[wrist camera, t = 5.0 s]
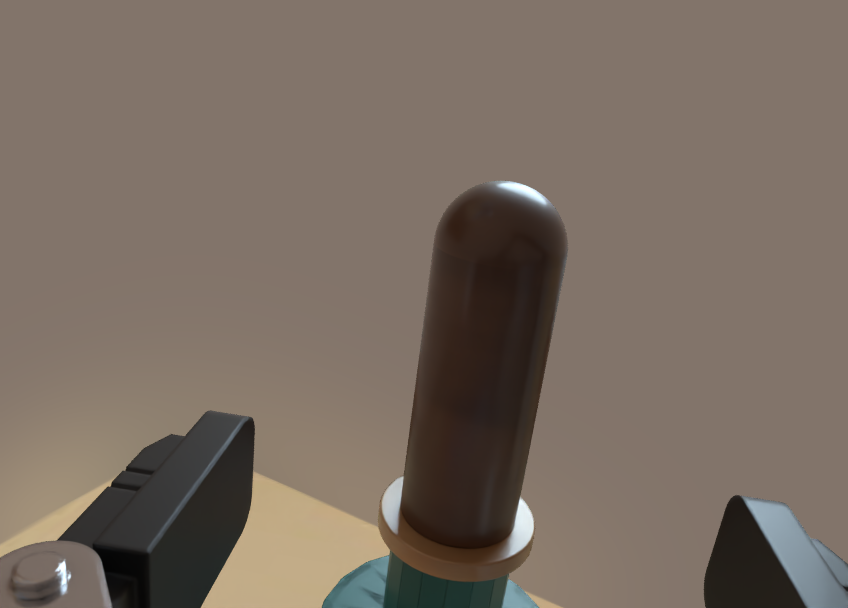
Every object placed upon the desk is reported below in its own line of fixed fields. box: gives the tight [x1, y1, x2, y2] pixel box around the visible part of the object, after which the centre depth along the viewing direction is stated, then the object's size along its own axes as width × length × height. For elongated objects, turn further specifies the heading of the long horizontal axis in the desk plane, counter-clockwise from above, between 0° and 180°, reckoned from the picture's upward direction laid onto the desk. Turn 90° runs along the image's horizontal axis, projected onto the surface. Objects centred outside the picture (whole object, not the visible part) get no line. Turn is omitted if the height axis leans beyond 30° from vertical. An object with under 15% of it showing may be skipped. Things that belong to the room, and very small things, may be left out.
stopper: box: [378, 181, 568, 582], centre depth 19 cm, size 5×5×13 cm
